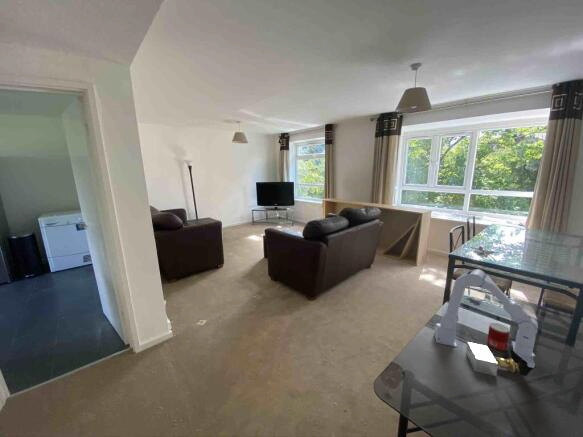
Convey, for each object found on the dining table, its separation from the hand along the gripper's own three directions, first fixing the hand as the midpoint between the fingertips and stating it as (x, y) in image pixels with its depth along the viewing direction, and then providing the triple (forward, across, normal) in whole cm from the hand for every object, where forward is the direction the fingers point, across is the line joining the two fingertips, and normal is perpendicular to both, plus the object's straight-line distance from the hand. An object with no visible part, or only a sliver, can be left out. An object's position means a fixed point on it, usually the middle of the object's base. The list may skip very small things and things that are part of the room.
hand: (519, 369), depth 107 cm
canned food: (+2, +18, +1) cm, 18 cm away
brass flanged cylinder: (+2, 0, +3) cm, 3 cm away
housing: (+2, 0, +14) cm, 15 cm away
